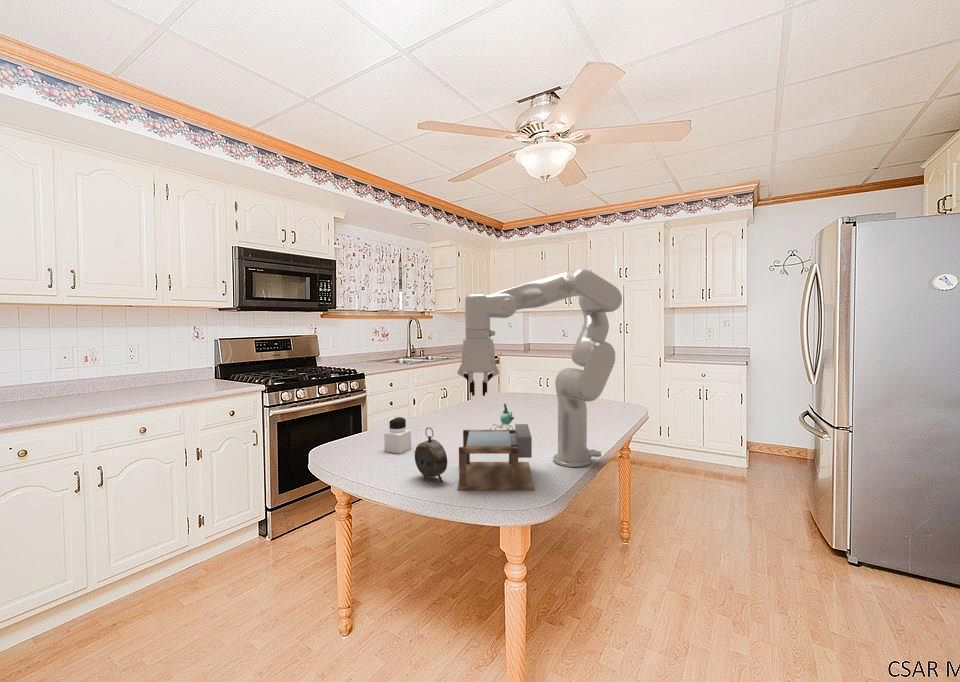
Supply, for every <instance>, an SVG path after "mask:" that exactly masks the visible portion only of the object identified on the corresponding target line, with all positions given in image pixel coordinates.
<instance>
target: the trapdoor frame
mask: <svg viewBox="0 0 960 682" xmlns="http://www.w3.org/2000/svg"><path fill="white" fill-rule="evenodd" d="M462 431H463V432H462V441H463V442H462V443H463V444H462V445H463V446H458V476H459V477H458V481H457V488H456V490H457V491H535V485H534V479H533V475H532V471H531V466H530V463H529V461H519V458H518V447H466V445H467V440H468V435H469V431H509V433H515V429H508V430H507V429H496V430H495V429H491V430H490V429H463V430H462ZM471 454H472V455H473V454H474V455H475V454H479V455H481V454H483V455H485V454H487V455H488V454H495V455H496V454H503V455H504V454H505V455H506V454H508V461H470V460H471V458H470V457H471V456H470V455H471Z"/></svg>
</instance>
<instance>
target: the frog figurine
mask: <svg viewBox="0 0 960 682" xmlns="http://www.w3.org/2000/svg"><path fill="white" fill-rule="evenodd" d="M503 408H504V410H503V412H502V413H501V415H500V425H498V424H497V423H496V424H495V423H494V424H493V425H492V427H494V426H496V427H495V428H494V430H497V427H498V428H500V429H503V428H504V427H505V428H506V430H514V428H513V425H510V424H511V423H512V422H513V420H514V419H515V417H514V416H513V412H512V411H510V412H509V411H508V407H507V404H506V403H504V404H503ZM506 425H507V426H506ZM492 427H490V429H489V430H492ZM507 427H508V428H507ZM510 427H511V428H510Z"/></svg>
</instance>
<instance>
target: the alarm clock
mask: <svg viewBox="0 0 960 682" xmlns="http://www.w3.org/2000/svg"><path fill="white" fill-rule="evenodd" d="M428 429H430V431H431V433H432V435H431V436H430V435H429V436H428V434H427V431H428ZM424 433H425V435H426V438H427V440H424V441H422V442H420V443H418V444H417V446H416V447H415V450H414V460H415V461H414V462H415V464H416V465H415V466H416V467H417V469H418V471H419V473H420V474H421V475H423V482H425V481H426V479H427V478H428V479H432V478H435V477H438V479H439V480H440V483H443V482H444V481H443V479H442V476H441V475H442V474H444V473H445V472H446V470H447V467H448V456H447V452H446V450H445V448H444V446H443V445H442V444H441V443H440V442H439V441H438V440H436V439H432V438H433V437H434V430H433V428H432V427H428V426H427V427H426V429H425V432H424Z"/></svg>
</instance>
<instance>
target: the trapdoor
mask: <svg viewBox="0 0 960 682" xmlns="http://www.w3.org/2000/svg"><path fill="white" fill-rule="evenodd" d="M514 430H515V433H509V431H469V435H468V440H467V445H466V447H518V459H521V458H522V459H523V458H525V459H527V458H528V459H529V458H530V459H531V458H532V452H533V451H532V449H533V448H532V445H533V444H532V443H533V441H532V435H531V431H530V426H529V424H528V423H515V424H514Z"/></svg>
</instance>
